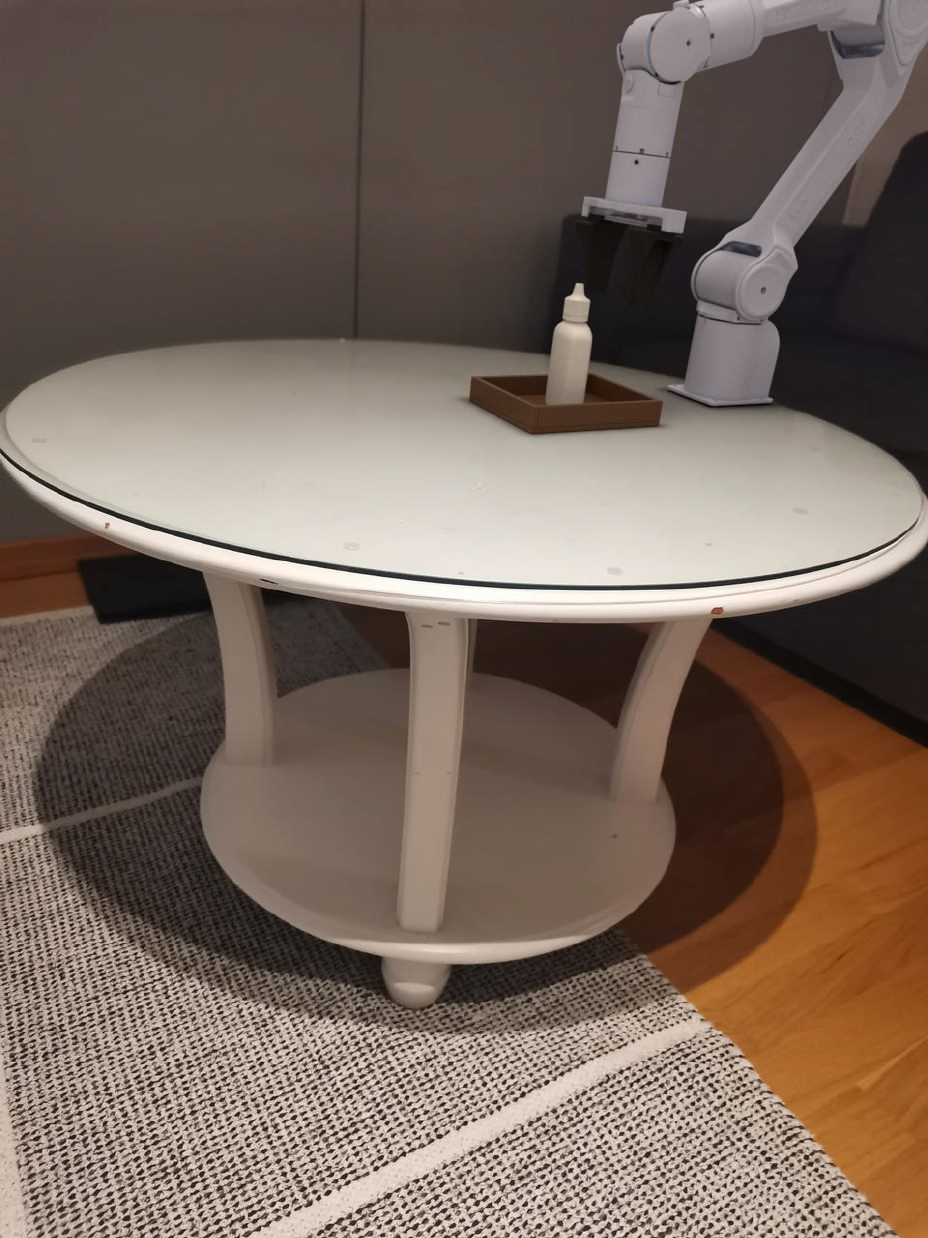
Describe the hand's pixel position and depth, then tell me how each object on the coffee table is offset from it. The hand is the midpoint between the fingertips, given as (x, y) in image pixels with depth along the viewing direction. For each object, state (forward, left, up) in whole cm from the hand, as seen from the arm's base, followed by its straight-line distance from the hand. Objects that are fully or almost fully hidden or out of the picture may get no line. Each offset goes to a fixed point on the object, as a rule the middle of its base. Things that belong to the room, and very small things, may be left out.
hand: (616, 298), depth 99 cm
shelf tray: (+8, +5, -10) cm, 14 cm away
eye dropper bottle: (+9, +5, -10) cm, 14 cm away
